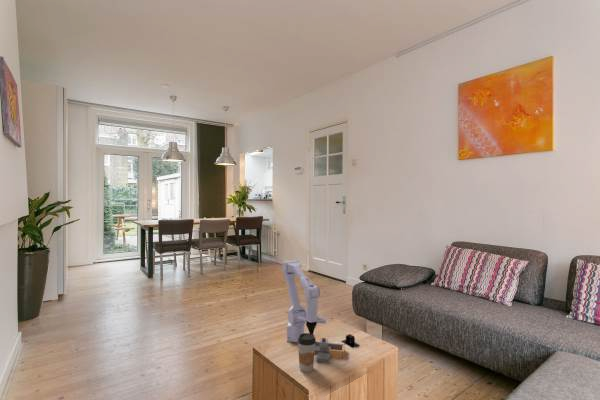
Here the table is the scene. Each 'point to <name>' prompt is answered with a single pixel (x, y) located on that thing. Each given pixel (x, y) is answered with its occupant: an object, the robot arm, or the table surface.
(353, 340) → the black boxy piece
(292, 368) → the table surface
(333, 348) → the rail
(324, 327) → the table surface
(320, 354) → the gray square block
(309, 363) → the coffee cup
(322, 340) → the metal block
